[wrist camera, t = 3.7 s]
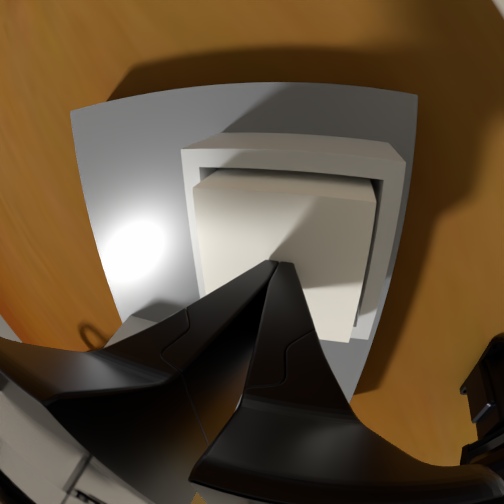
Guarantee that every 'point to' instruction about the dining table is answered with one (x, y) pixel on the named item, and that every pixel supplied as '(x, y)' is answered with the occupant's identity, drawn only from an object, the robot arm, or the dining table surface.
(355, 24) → the dining table surface
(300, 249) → the cream key
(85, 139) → the grey rectangular board
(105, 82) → the dining table surface
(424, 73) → the dining table surface
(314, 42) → the dining table surface
